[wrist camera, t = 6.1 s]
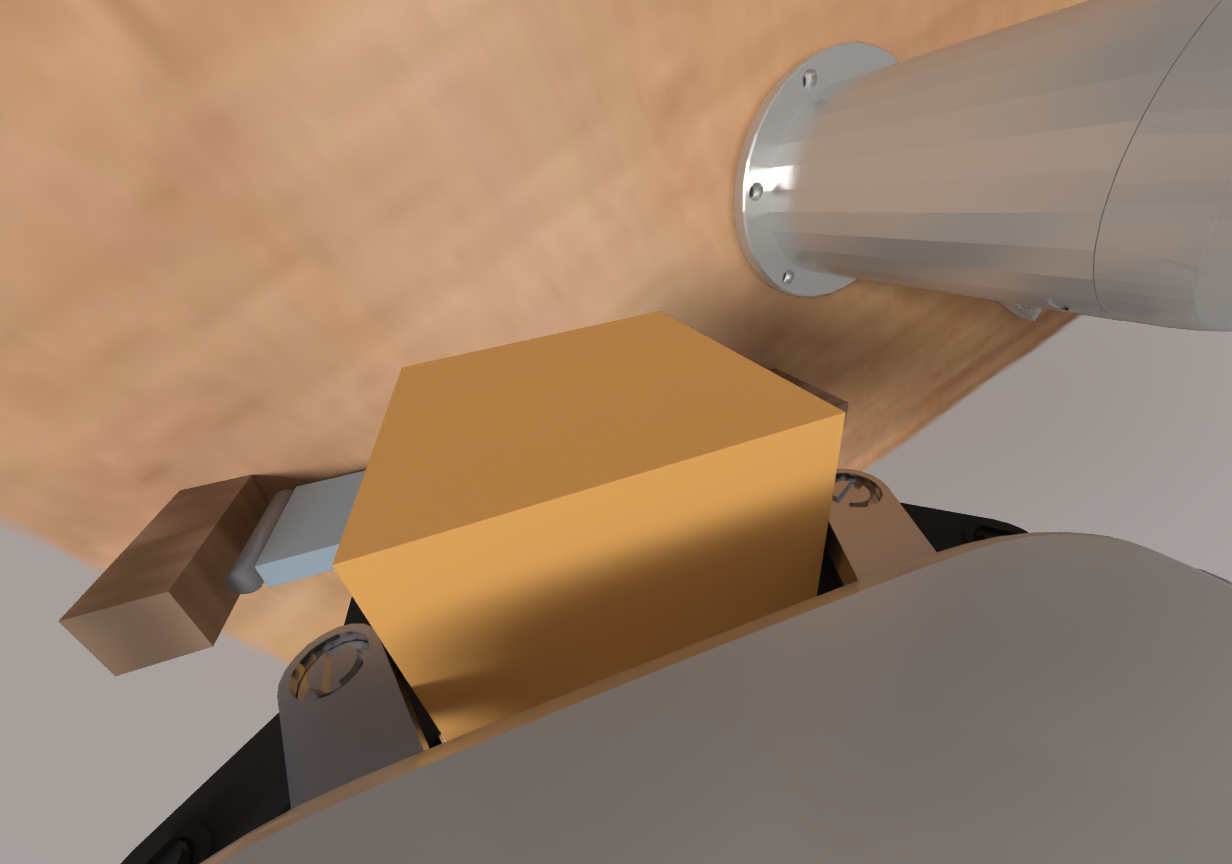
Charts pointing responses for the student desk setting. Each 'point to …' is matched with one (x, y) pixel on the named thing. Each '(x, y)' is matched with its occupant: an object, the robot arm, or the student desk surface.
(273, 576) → the gate door
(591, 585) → the orange stepped block
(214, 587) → the wooden posts
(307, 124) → the student desk surface
